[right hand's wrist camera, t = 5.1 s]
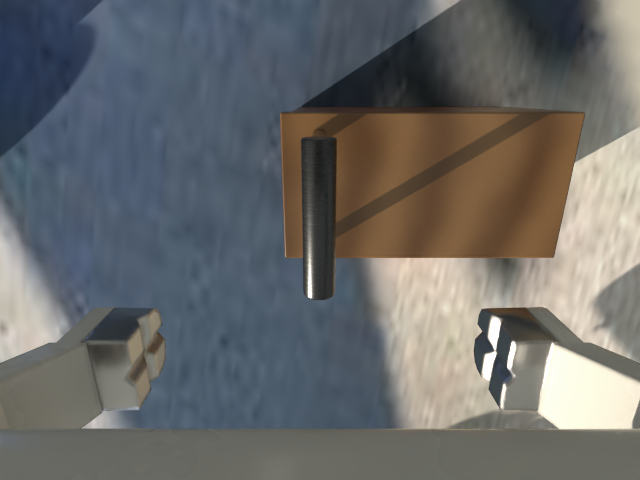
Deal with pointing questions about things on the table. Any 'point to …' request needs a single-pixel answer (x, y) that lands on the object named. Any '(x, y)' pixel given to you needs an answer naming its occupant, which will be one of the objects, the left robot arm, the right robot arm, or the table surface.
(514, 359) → the right robot arm
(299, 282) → the table surface
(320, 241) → the lid
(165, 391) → the table surface
